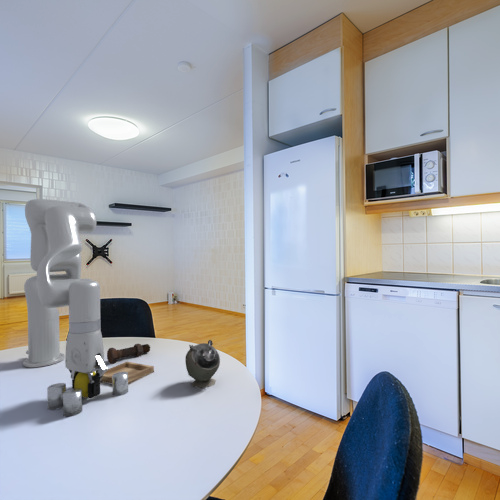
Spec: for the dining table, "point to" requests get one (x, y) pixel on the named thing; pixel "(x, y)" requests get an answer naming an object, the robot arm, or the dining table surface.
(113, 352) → the bolt
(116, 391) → the cylinder
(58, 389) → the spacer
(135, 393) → the dining table surface
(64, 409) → the cylinder
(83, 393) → the lemon
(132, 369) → the tray
